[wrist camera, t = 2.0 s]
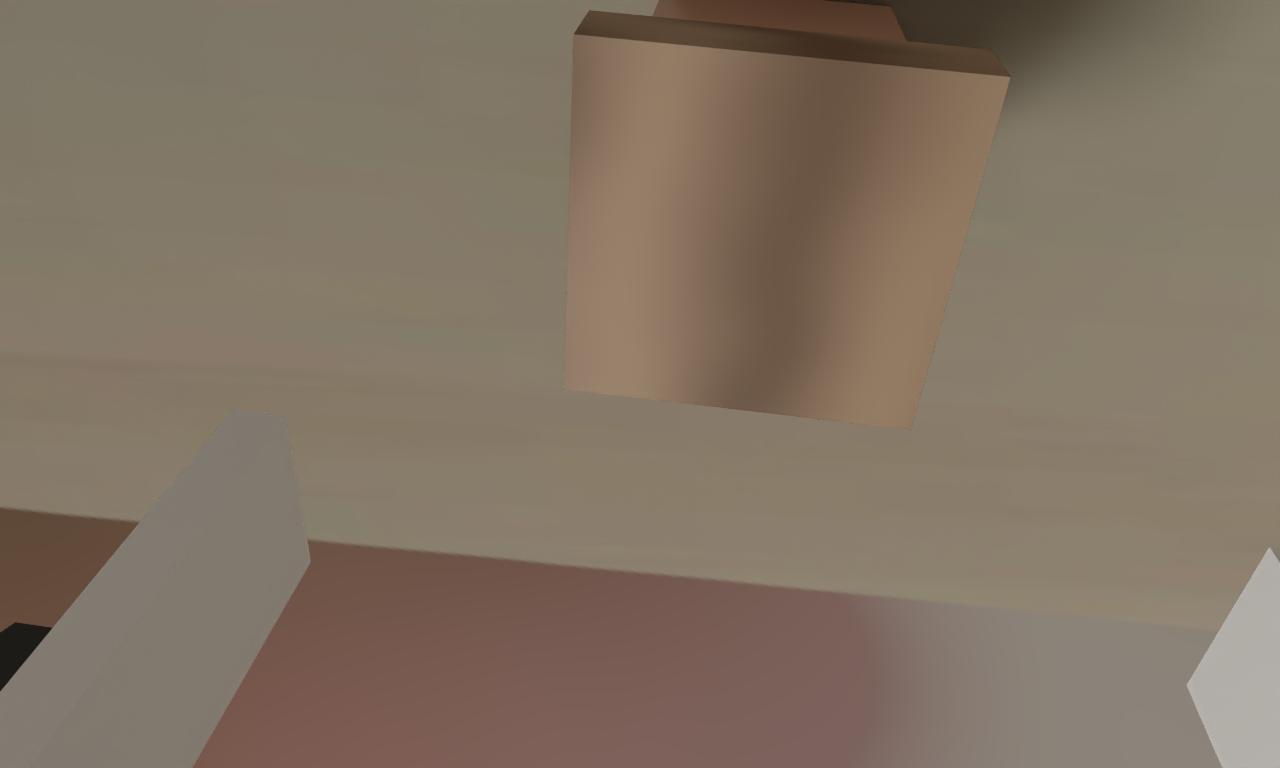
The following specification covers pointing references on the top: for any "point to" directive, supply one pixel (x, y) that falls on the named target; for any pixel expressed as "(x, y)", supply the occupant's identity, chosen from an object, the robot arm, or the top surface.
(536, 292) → the top surface
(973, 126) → the lid
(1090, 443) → the top surface
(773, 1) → the tan hollow square block
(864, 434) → the top surface
